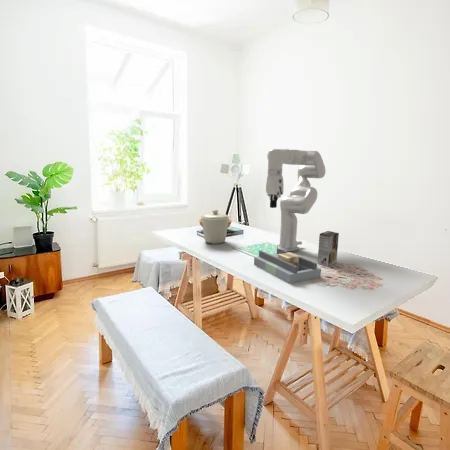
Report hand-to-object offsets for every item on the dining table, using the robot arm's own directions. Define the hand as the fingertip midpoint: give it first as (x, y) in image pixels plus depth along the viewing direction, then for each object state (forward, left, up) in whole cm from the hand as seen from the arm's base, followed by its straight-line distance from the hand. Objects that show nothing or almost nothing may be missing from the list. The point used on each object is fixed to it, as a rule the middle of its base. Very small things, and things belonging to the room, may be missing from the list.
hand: (273, 207), depth 174 cm
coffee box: (-19, +23, -27) cm, 40 cm away
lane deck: (+8, +23, -27) cm, 36 cm away
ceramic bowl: (0, -70, -27) cm, 75 cm away
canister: (+15, -40, -27) cm, 51 cm away
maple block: (+8, +24, -23) cm, 34 cm away
